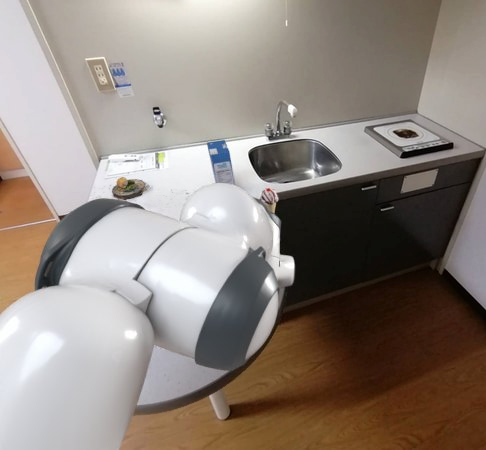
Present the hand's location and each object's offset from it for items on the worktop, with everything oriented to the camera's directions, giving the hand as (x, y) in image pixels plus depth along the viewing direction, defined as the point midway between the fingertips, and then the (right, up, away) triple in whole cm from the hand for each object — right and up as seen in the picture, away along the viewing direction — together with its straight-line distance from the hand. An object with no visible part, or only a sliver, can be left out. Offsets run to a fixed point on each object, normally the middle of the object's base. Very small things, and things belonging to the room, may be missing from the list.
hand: (176, 271), depth 77 cm
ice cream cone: (+22, +11, +25) cm, 35 cm away
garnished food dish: (-35, +25, +42) cm, 60 cm away
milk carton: (+4, +23, +39) cm, 45 cm away
